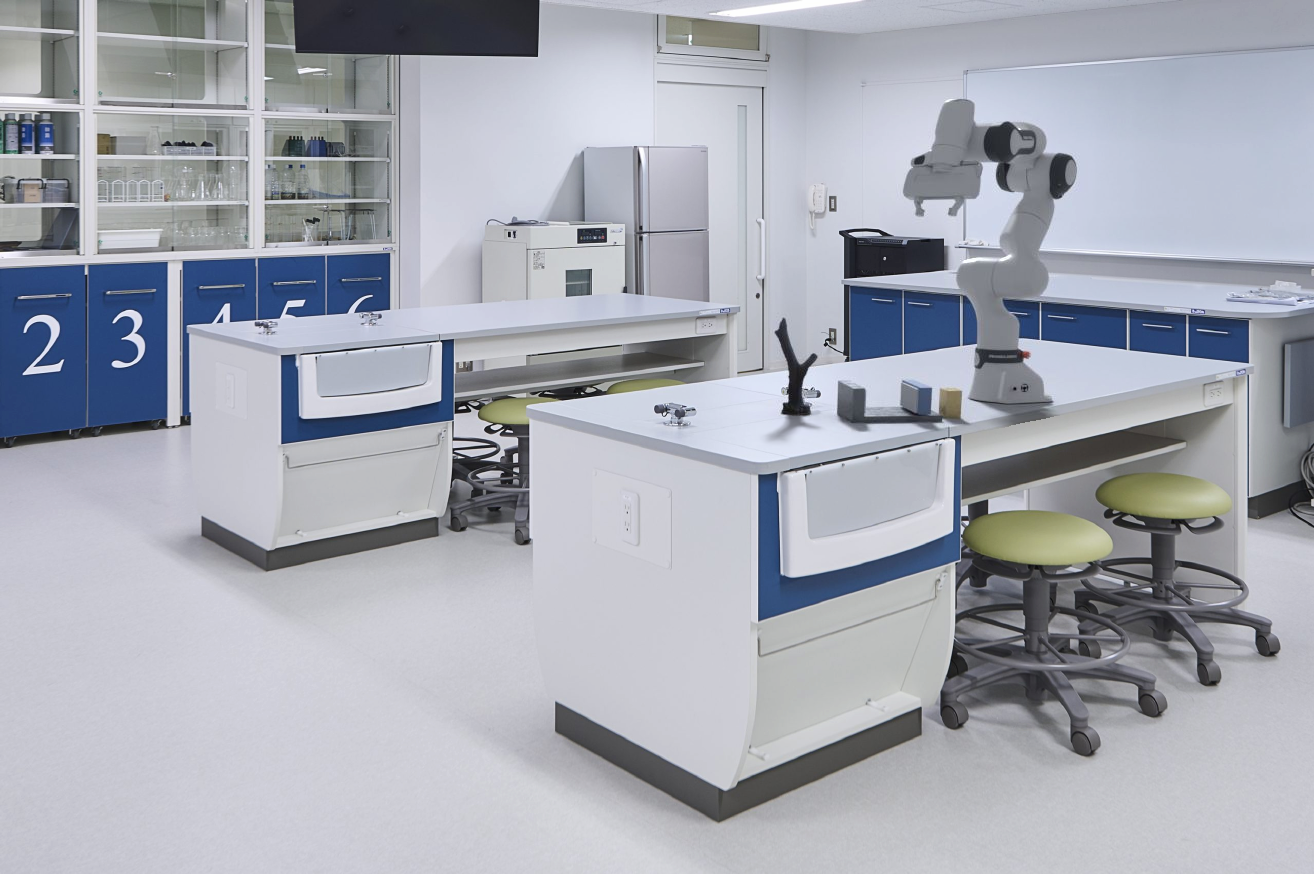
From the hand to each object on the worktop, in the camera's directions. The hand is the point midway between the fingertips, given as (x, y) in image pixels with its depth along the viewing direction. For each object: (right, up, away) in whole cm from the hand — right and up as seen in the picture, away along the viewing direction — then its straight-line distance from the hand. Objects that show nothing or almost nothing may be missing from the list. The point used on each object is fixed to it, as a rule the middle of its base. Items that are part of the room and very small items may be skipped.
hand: (935, 216), depth 298 cm
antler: (-34, -49, +10) cm, 61 cm away
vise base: (-10, -50, +6) cm, 51 cm away
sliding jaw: (-4, -48, +6) cm, 49 cm away
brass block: (+5, -50, +8) cm, 51 cm away
